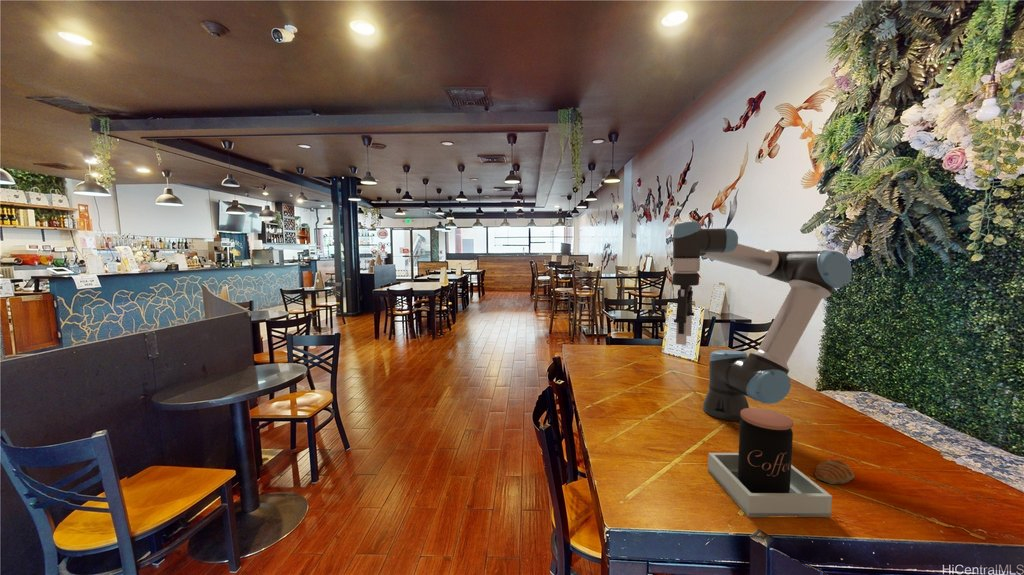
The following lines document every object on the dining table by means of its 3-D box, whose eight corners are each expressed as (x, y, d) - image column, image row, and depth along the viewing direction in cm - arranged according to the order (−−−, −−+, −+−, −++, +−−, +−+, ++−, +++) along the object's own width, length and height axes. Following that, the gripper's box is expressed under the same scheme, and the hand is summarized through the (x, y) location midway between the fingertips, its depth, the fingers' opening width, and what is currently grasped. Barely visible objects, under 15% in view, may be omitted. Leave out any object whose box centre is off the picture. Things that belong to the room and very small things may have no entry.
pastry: (838, 490, 92) (839, 475, 91) (806, 476, 98) (807, 462, 97) (856, 479, 96) (856, 465, 96) (824, 466, 102) (825, 453, 102)
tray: (775, 470, 100) (776, 452, 99) (830, 517, 82) (832, 496, 82) (707, 470, 100) (708, 452, 100) (748, 517, 82) (749, 496, 82)
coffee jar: (741, 494, 88) (744, 422, 87) (733, 470, 98) (736, 404, 97) (795, 505, 84) (800, 429, 83) (782, 479, 94) (785, 410, 93)
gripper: (678, 270, 127) (676, 331, 129) (666, 274, 106) (664, 346, 108) (702, 270, 123) (700, 333, 125) (695, 274, 102) (693, 350, 104)
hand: (683, 339), depth 117 cm, fingers open, 13 cm apart
